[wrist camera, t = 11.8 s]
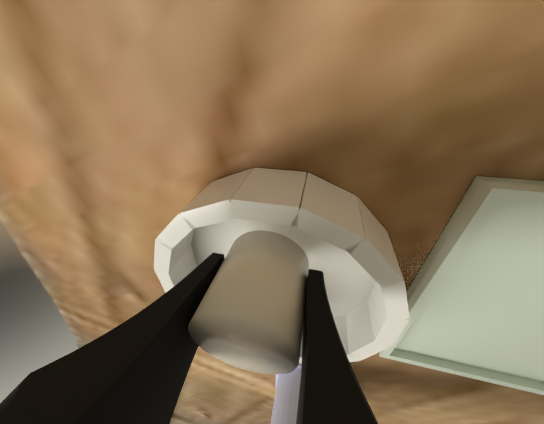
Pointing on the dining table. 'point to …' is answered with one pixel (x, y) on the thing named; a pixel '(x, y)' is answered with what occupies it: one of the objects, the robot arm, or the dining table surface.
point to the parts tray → (483, 290)
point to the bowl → (309, 236)
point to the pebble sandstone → (255, 305)
